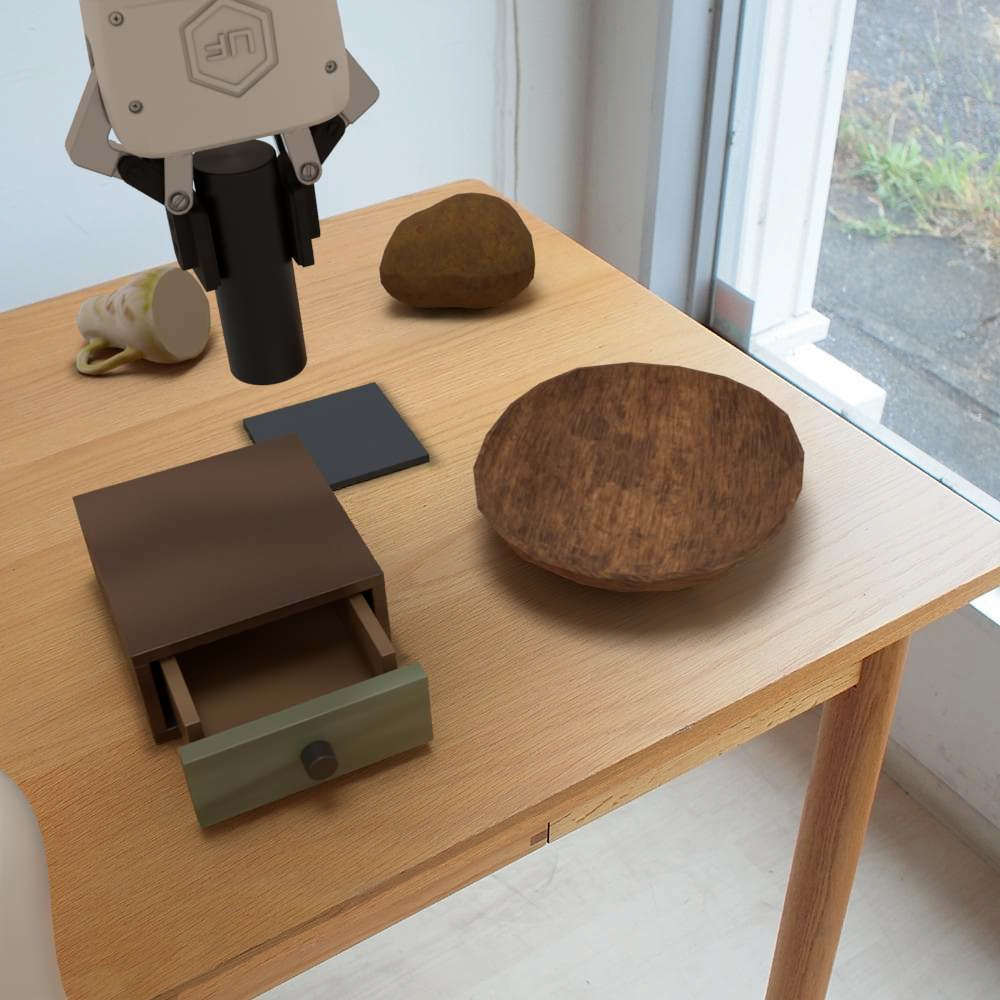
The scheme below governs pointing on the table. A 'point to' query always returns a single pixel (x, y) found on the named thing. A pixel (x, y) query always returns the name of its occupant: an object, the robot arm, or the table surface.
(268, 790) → the drawer
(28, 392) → the table surface
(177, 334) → the mug
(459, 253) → the potato
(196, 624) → the cabinet
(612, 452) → the bowl
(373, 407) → the mat
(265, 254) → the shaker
